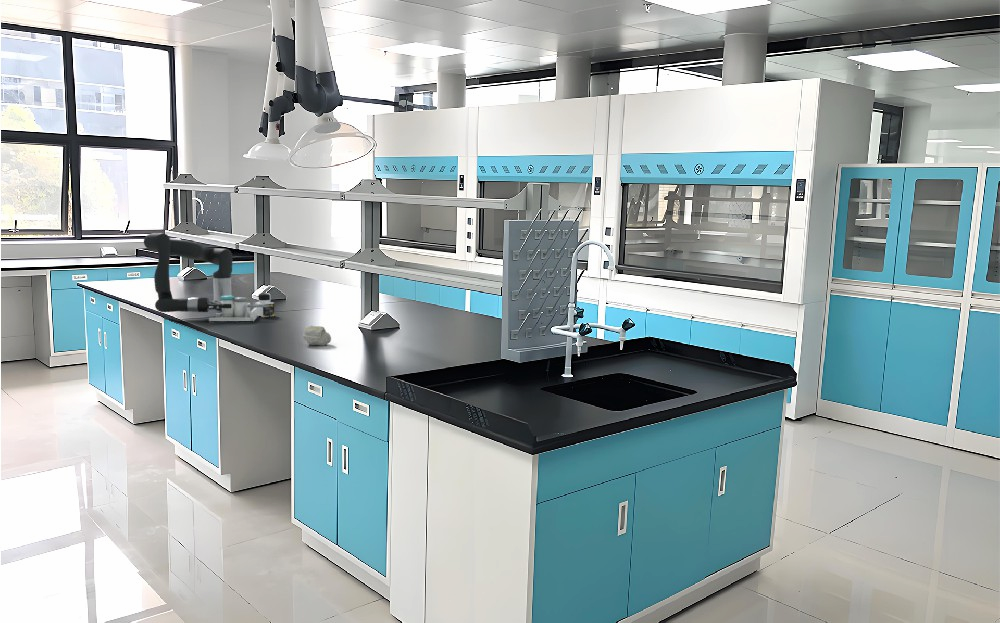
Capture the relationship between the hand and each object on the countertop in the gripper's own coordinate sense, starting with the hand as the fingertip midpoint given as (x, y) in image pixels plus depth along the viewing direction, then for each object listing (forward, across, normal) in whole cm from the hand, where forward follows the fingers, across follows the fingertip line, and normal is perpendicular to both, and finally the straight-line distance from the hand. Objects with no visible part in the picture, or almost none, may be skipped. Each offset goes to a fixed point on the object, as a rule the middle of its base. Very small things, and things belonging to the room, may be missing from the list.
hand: (232, 305), depth 390 cm
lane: (0, 0, +7) cm, 8 cm away
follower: (+12, 0, +7) cm, 14 cm away
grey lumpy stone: (+48, -63, +8) cm, 79 cm away
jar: (-2, 0, +6) cm, 7 cm away
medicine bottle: (+14, +11, +8) cm, 20 cm away
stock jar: (+4, 0, +7) cm, 8 cm away
